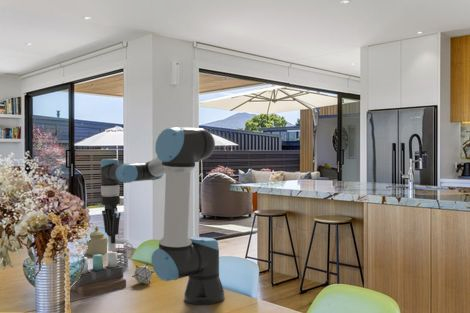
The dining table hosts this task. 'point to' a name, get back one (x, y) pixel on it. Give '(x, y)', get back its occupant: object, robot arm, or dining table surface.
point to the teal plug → (97, 262)
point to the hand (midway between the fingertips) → (112, 250)
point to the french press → (124, 253)
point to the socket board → (100, 281)
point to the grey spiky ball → (143, 274)
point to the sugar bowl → (97, 243)
